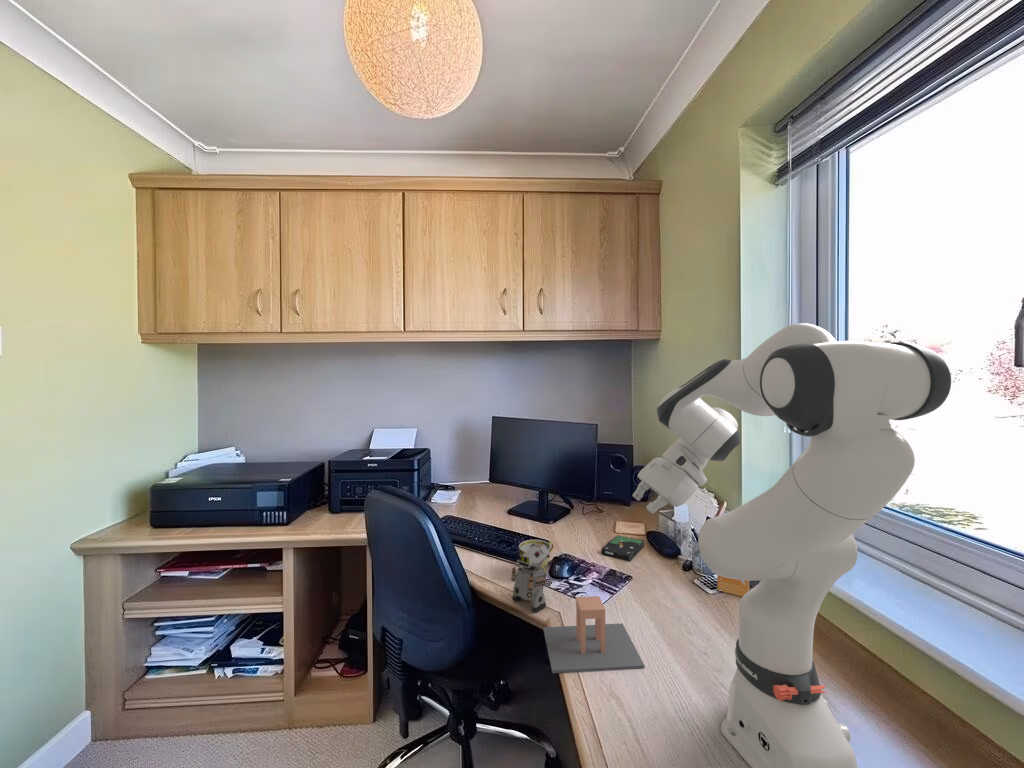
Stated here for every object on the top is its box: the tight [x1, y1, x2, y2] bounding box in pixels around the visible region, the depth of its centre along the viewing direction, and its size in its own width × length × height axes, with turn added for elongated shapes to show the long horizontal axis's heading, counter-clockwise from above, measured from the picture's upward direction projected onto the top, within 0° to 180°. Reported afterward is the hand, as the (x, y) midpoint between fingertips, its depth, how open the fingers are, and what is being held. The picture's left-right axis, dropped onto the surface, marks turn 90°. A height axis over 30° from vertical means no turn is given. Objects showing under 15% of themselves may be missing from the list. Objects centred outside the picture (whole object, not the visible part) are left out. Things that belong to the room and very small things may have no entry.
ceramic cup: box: [518, 539, 554, 574], centre depth 132 cm, size 13×10×10 cm
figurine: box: [510, 543, 552, 614], centre depth 118 cm, size 9×12×15 cm
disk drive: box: [601, 534, 645, 563], centre depth 149 cm, size 10×3×15 cm
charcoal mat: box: [542, 623, 645, 674], centre depth 98 cm, size 15×20×1 cm
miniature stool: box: [575, 595, 606, 654], centre depth 98 cm, size 6×6×10 cm
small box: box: [716, 575, 750, 597], centre depth 122 cm, size 8×6×13 cm
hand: (641, 504), depth 103 cm, fingers open, 8 cm apart
